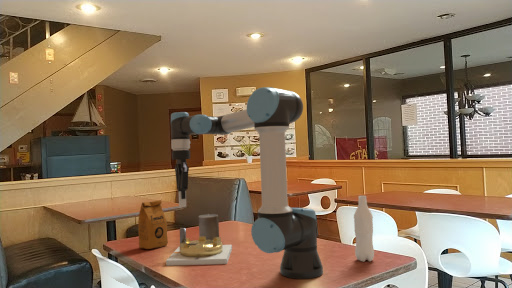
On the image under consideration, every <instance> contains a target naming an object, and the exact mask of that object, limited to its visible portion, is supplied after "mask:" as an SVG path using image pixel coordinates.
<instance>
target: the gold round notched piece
mask: <svg viewBox="0 0 512 288" xmlns="http://www.w3.org/2000/svg"><path fill="white" fill-rule="evenodd" d="M222 245H223V242H222V238H221V237H220V236H219V237H214V240H206V236H199V235H198V239H193V240H191V239H190V238H188V237H187V228H186V227H180V228H179V245H178V247H180V254H181V255H183V256H188V257H203V256H211V255H215V254H218V253H220V252H222V250H223V249H222Z"/></svg>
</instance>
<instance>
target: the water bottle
mask: <svg viewBox="0 0 512 288" xmlns="http://www.w3.org/2000/svg"><path fill="white" fill-rule="evenodd" d="M357 198H358V201H357V204H358V205H357V208H356V209H355V211H354V214H353V219H354V220H353V222H354V223H353V224H354V235H355V248H354V249H355V250H354V254H355V257H356V260H358V261H360V262H366V260H367V261H368V262H371V261H373V259H374V257H375V248H374V244H373V241H374V240H373V234H374V227H373V225H374V223H373V218H374V217H373V213H372V212H371V210H370V208H369V206H368V199H367V195H358V197H357Z"/></svg>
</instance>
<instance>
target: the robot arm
mask: <svg viewBox="0 0 512 288" xmlns="http://www.w3.org/2000/svg"><path fill="white" fill-rule="evenodd" d="M303 111H304V103H303V100H302V98H301V97H300V95H299V94H298V93H296V92H294V91H292V90H288V89H287V90H286V89H281V88H275V87H272V86H271V87H270V86H269V87H266V86H264V87H259V88H257V89H255V90H254V91H253V92H252V93H251V94H250V95H249V97H248V100H247V103H246V109H243V110H242V109H241V110H239V111H235V112H230V113H227V114H223V115H218V116H211V115H209V116H208V115H206V114H195V115H190V114H189V113H188V112H186V111H180V112H179V111H178V112H177V111H176V112H172V113H171V114H170V135H171V136H170V137H171V138H170V140H171V141H170V143H171V150H172V151H171V159H172V160H176V164H175V166H174V167H173V168H174V172H175V183H176V189H177V192H178V207H179V208H187V190H188V189H189V184H188V183H189V170H190V167H189V166H188V162H187V160H191V150H189V149H191V145H190V144H191V143H192V141H190V139H191V138H190V136H191V135H219V136H224V135H230V134H231V133H232V132H237V131H242V130H246V129H251V128H253V129H254V130H255V131H256V132H257V133H258V135H259V141H258V142H259V160H260V161H259V162H260V166H259V167H260V183H261V185H260V187H261V190H260V192H261V206H260V207H259V209H258V210H257V219H255V221H254V222H253V224H252V225H251V230H250V231H251V238H252V240H253V243H254V244H255V246H257V248H258V249H259V250H260V251H262V252H263V253H266V254H274V253H281V252H283V251H284V252H283V254H282V255H283V256H282V258H281V262H280V266H279V271H280V273H279V274H280V275H281V276H283V277H285V278H289V279H296V280H305V279H307V280H308V279H313V278H317V277H320V276H322V275H323V273H324V270H323V269H324V268H323V267H324V266H323V264H322V260H321V258H320V255H319V252H318V240H317V238H318V236H317V215H316V211H315V210H314V209H312V208H307V207H306V208H304V207H291V206H289V203H288V199H289V198H288V180H287V179H288V178H287V155H286V153H287V152H286V132H287V131H288V130H289V128H290V124H292V123H295V122H297V121H298V120H299V119H300V118H301V116H302V114H303Z"/></svg>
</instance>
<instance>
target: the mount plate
mask: <svg viewBox="0 0 512 288" xmlns="http://www.w3.org/2000/svg"><path fill="white" fill-rule="evenodd" d="M222 249H223V250H222V252H220V253H218V254H215V255H211V256H203V257H188V256H183V255H181V254H180V247H179V246H178V247H177V248H176V249H175V250H174V251H173V252H172V254H171V255H169V257H168V258H167V259H166V260H165V264H166V265H165V266H167V267H168V266H192V265H193V266H195V265H197V266H199V265H204V266H205V265H227V264H228V262H229V260H230V256H231V253H232V250H233V244H222Z"/></svg>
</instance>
